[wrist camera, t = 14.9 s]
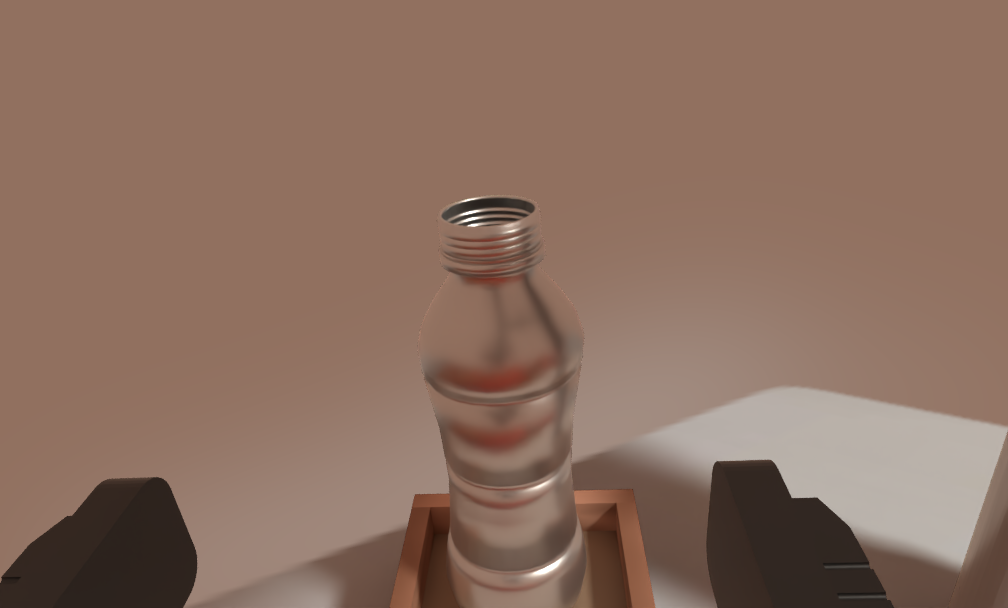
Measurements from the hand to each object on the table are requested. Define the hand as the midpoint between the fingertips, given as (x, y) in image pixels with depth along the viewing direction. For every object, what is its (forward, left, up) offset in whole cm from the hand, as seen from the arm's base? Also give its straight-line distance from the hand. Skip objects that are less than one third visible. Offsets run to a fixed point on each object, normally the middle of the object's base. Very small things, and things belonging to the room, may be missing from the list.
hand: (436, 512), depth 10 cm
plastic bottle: (0, -15, -21) cm, 26 cm away
